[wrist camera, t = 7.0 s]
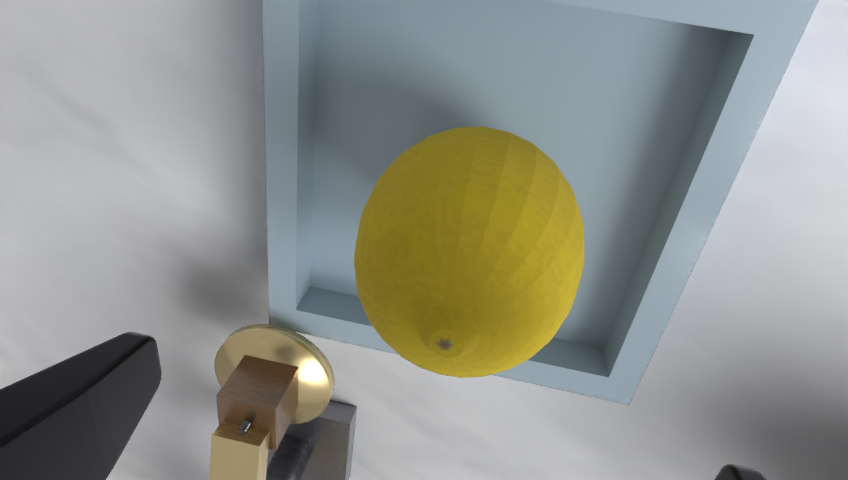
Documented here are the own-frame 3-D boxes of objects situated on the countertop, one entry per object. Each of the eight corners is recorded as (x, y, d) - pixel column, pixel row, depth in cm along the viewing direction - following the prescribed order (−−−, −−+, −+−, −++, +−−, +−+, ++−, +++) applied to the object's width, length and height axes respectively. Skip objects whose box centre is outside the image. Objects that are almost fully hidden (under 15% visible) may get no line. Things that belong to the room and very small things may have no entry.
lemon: (571, 83, 15) (599, 201, 8) (576, 254, 17) (601, 456, 10) (383, 104, 16) (268, 222, 9) (413, 261, 19) (340, 444, 12)
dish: (775, -13, 14) (820, -6, 12) (618, 356, 20) (629, 404, 18) (298, -87, 15) (260, -92, 13) (294, 287, 21) (268, 326, 19)
